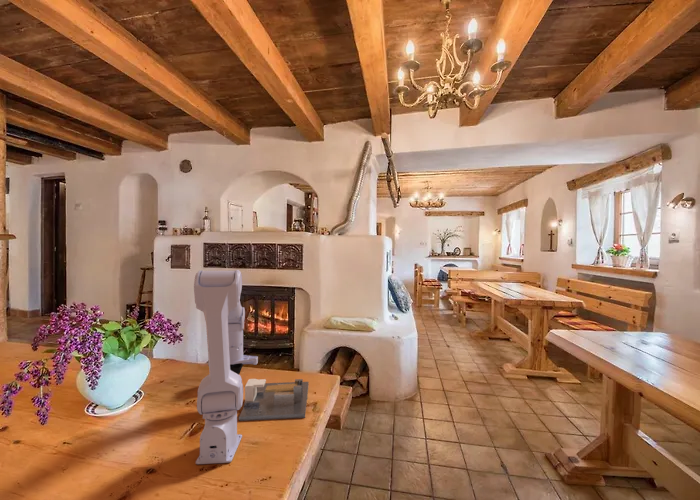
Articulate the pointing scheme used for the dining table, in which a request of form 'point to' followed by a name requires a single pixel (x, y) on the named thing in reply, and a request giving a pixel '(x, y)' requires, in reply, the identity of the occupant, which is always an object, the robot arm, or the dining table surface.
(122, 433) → the dining table surface
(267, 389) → the strap
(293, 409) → the base plate
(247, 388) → the latch
